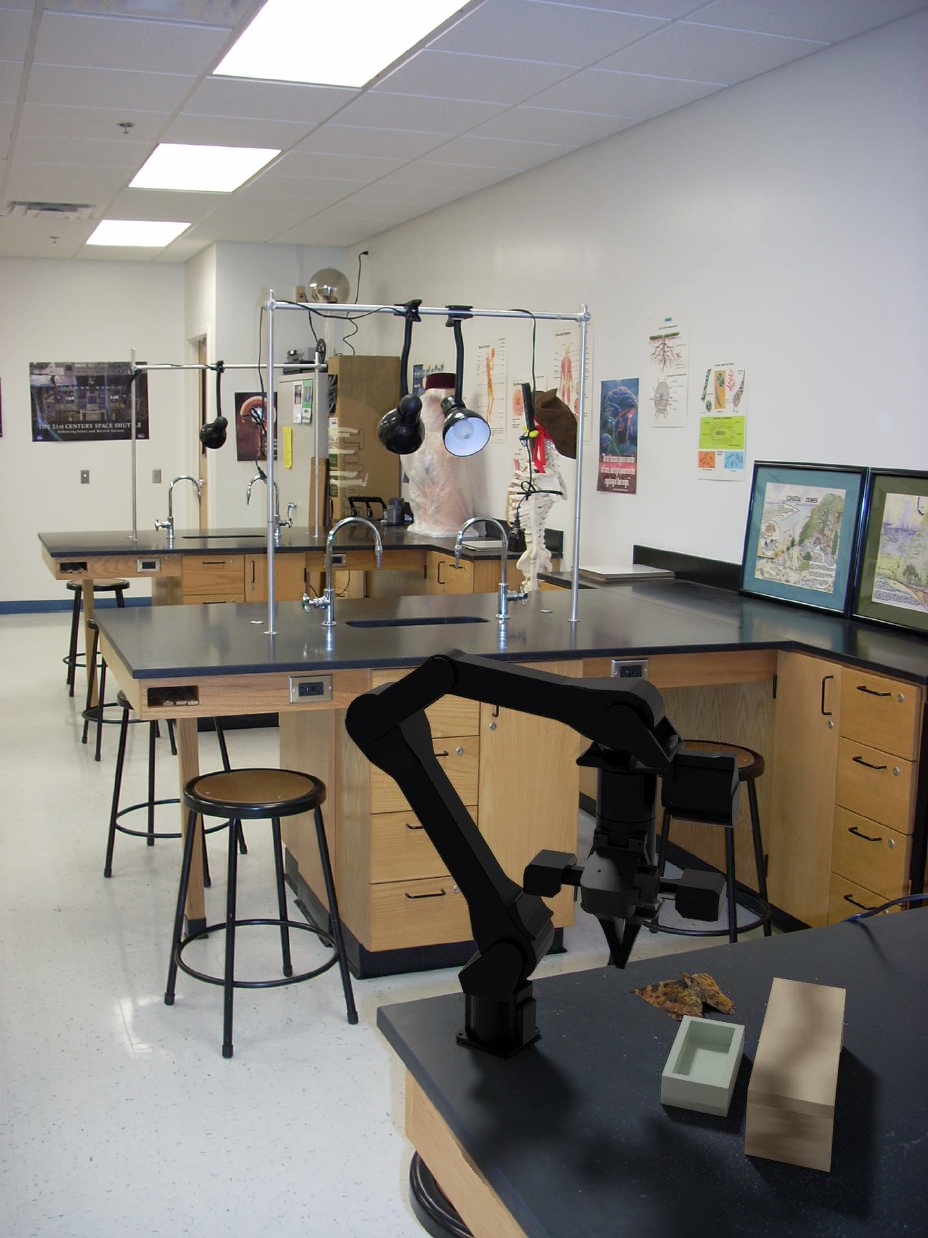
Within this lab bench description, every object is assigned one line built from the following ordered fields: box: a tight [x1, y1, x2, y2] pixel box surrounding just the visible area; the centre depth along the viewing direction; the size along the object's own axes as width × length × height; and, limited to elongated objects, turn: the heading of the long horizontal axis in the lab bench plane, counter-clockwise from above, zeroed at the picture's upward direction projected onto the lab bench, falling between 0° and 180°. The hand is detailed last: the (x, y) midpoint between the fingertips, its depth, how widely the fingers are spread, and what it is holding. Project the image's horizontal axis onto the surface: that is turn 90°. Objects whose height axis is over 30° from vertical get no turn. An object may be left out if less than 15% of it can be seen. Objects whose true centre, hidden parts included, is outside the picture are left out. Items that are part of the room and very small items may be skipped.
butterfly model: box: [629, 971, 738, 1022], centre depth 128 cm, size 9×12×3 cm
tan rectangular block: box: [744, 977, 847, 1173], centre depth 110 cm, size 7×22×6 cm, turn 160°
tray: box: [660, 1015, 746, 1118], centre depth 113 cm, size 6×12×3 cm, turn 160°
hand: (621, 967), depth 114 cm, fingers closed
